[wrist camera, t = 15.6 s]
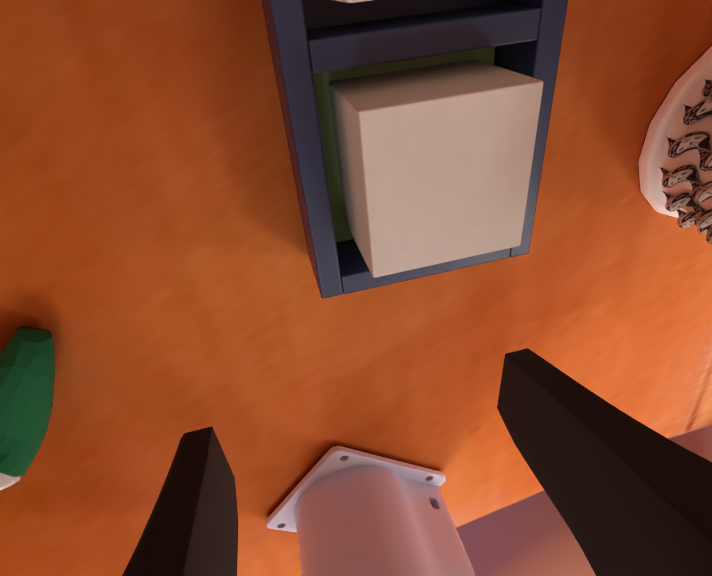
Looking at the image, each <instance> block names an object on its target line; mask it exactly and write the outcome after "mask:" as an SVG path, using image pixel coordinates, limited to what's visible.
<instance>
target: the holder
mask: <svg viewBox="0 0 712 576" xmlns="http://www.w3.org/2000/svg"><path fill="white" fill-rule="evenodd" d="M567 4H568V0H371V1H363V2H355V3H346V2H341V1H335V0H262V6H263V11H264V17H265V22H266V27H267V33H268V38H269V44H270V49H271V54H272V60H273V65H274V71H275V76H276V81H277V87H278V92H279V98H280V103H281V108H282V114H283V119H284V124H285V130H286V135H287V141H288V146H289V151H290V157H291V162H292V168H293V173H294V178H295V184H296V189H297V195H298V200H299V205H300V211H301V216H302V222H303V227H304V232H305V238H306V243H307V249H308V254H309V258H310V261H311V265H312V268H313V271H314V274H315V278H316V281H317V284H318V288H319V291H320V294H321V297H322V298H328V297H332V296H337V295H341V294H343V293H344V294H347V293H352V292H356V291H361V290H365V289H370V288H374V287H379V286H383V285H388V284H392V283H397V282H401V281H406V280H410V279H415V278H419V277H424V276H428V275H433V274H437V273H442V272H446V271H451V270H455V269H460V268H464V267H469V266H473V265H478V264H482V263H487V262H491V261H496V260H500V259H505V258H509V257H514V256H518V255H523V254H527V253H529V248H530V241H531V235H532V228H533V222H534V216H535V209H536V203H537V196H538V190H539V184H540V177H541V171H542V164H543V158H544V152H545V145H546V139H547V132H548V126H549V120H550V113H551V107H552V100H553V94H554V88H555V81H556V75H557V68H558V62H559V56H560V49H561V43H562V36H563V30H564V24H565V17H566V11H567ZM472 59H476V60H479V61H482V62H485V63H488V64H491V65H495V66H498V67H501V68H504V69H507V70H510V71H514V72H517V73H520V74H523V75H526V76H529V77H533V78H536V79H539V80H542V81H543V90H542V97H541V104H540V111H539V118H538V125H537V132H536V139H535V146H534V153H533V160H532V167H531V174H530V181H529V189H528V196H527V203H526V210H525V217H524V224H523V231H522V238H521V245H520V246H517V247H512V248H508V249H503V250H498V251H494V252H489V253H485V254H480V255H476V256H471V257H466V258H462V259H457V260H453V261H448V262H444V263H439V264H435V265H430V266H425V267H421V268H416V269H412V270H407V271H403V272H398V273H393V274H389V275H384V276H380V277H375V278H374V277H373V276H372V274H371V272H370V270H369V268H368V266H367V264H366V262H365V260H364V258H363V256H362V254H361V252H360V250H359V248H358V246H357V244H356V242H355V240H354V238H353V236H352V234H351V232H350V230H349V228H348V226H347V224H346V222H345V214H344V206H343V198H342V189H341V181H340V173H339V165H338V157H337V149H336V140H335V132H334V124H333V116H332V108H331V99H330V91H329V82H330V81H336V80H342V79H349V78H355V77H362V76H368V75H375V74H381V73H388V72H394V71H401V70H407V69H414V68H420V67H427V66H433V65H440V64H446V63H453V62H459V61H466V60H472Z"/></svg>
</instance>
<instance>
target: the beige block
mask: <svg viewBox="0 0 712 576" xmlns="http://www.w3.org/2000/svg"><path fill="white" fill-rule="evenodd" d="M335 1H341V2H346V3H355V2H363V1H371V0H335Z"/></svg>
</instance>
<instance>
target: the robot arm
mask: <svg viewBox="0 0 712 576" xmlns="http://www.w3.org/2000/svg"><path fill="white" fill-rule="evenodd" d="M497 408H498V410H499V413H500V415H501V417H502V419H503V421H504V423H505V425H506V427H507V429H508V431H509V433H510V435H511V437H512V439H513V441H514V443H515V445H516V447H517V448H518V450H519V451H520V453H521V454H522V456H523V458H524V459H525V461H526V462H527V464H528V465H529V467H530V468H531V470H532V472H533V473H534V475H535V476H536V478H537V479H538V481H539V482H540V484H541V485H542V487H543V488H544V490H545V491H546V493H547V494H548V496H549V498H550V499H551V501H552V502H553V504H554V505H555V507H556V508H557V510H558V511H559V513H560V514H561V516H562V517H563V519H564V520H565V522H566V524H567V525H568V527H569V528H570V530H571V531H572V533H573V535H574V536H575V538H576V540H577V541H578V543H579V545H580V546H581V548H582V550H583V552H584V554H585V556H586V557H587V559H588V561H589V563H590V565H591V567H592V569H593V571H594V572H595V574H596V576H712V462H710V461H708V460H706V459H704V458H703V457H700V456H698V455H697V454H695V453H693V452H691V451H689V450H687V449H685V448H683V447H682V446H680V445H678V444H676V443H674V442H673V441H671V440H669V439H667V438H665V437H664V436H662V435H660V434H659V433H657V432H655V431H654V430H652V429H650V428H648V427H647V426H645V425H643V424H642V423H640V422H638V421H637V420H635V419H633V418H632V417H630V416H628V415H627V414H625V413H624V412H622V411H620V410H619V409H617V408H616V407H614V406H613V405H611V404H609V403H608V402H606V401H605V400H603V399H602V398H600V397H599V396H597V395H596V394H594V393H593V392H591V391H590V390H588V389H587V388H585V387H584V386H582V385H581V384H579V383H578V382H576V381H575V380H573V379H572V378H570V377H569V376H567V375H566V374H564V373H563V372H562V371H560V370H559V369H557V368H556V367H554V366H553V365H551V364H550V363H549V362H547V361H546V360H544V359H543V358H541V357H540V356H538V355H537V354H535V353H534V352H532V351H531V350H529V349H528V348H527V349H523V350H519V351H515V352H511V353H507V354H505V359H504V366H503V372H502V379H501V386H500V393H499V399H498V406H497ZM445 481H446V477H445V474H444V473H443V472H440V471H436V470H432V469H428V468H424V467H421V466H417V465H413V464H409V463H405V462H401V461H397V460H393V459H389V458H385V457H381V456H377V455H373V454H369V453H366V452H362V451H358V450H354V449H350V448H346V447H342V446H334V447H332V448H331V449H329V451H328V452H327V453H326V454H325V455H324V456H323V457H322V458H321V459H320V460H319V462H318V463H317V464H316V465H315V466H314V467H313V468H312V469H311V470H310V472H309V473H308V474H307V475H306V476H305V477H304V478H303V479H302V480H301V482H300V483H299V484H298V485H297V486H296V487H295V488H294V489H293V490H292V492H291V493H290V494H289V495H288V496H287V497H286V498H285V499H284V500H283V501H282V503H281V504H280V505H279V506H278V507H277V508H276V509H275V510H274V511H273V513H272V514H271V515H270V516H269V517H268V518H267V520H266V525H267V527H268V528H270V529H276V530H284V531H292V532H297V538H298V546H299V554H300V562H301V569H302V576H475V573H474V570H473V568H472V565H471V563H470V561H469V559H468V556H467V554H466V551H465V549H464V546H463V544H462V542H461V539H460V537H459V535H458V532H457V530H456V527H455V525H454V523H453V520H452V518H451V516H450V513H449V511H448V508H447V506H446V504H445V501H444V499H443V497H442V494H441V492H440V489H439V487H440V486H441V485H442V484H443V483H444V482H445ZM237 552H238V513H237V500H236V488H235V477H234V475H233V473H232V471H231V468H230V466H229V464H228V461H227V459H226V457H225V455H224V452H223V450H222V448H221V446H220V443H219V441H218V439H217V436H216V434H215V432H214V430H213V427H208V428H204V429H200V430H196V431H192V432H188V433H185V434H184V435H183V436H182V437H181V440H180V443H179V445H178V448H177V451H176V454H175V456H174V459H173V462H172V465H171V467H170V470H169V472H168V475H167V477H166V480H165V482H164V485H163V487H162V490H161V492H160V495H159V497H158V500H157V502H156V504H155V506H154V509H153V511H152V513H151V516H150V518H149V520H148V522H147V525H146V527H145V529H144V532H143V534H142V536H141V538H140V540H139V543H138V545H137V547H136V549H135V551H134V553H133V555H132V557H131V559H130V561H129V563H128V565H127V567H126V569H125V571H124V573H123V575H122V576H237Z"/></svg>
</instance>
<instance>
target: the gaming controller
mask: <svg viewBox="0 0 712 576" xmlns="http://www.w3.org/2000/svg"><path fill="white" fill-rule="evenodd" d="M54 378H55V357H54V342H53V338H52V335H51V332H50V331H48V330H44V329H32V328H19V329H18V330H17V332H16V333H15V334H14V335H13V337H12V338H11V339H10V340H9V342H8V343H7V344H6V345H5V346H4V348H3V349H2V351H1V353H0V490H2V489H4V488H7V487H9V486H11V485H13V484H14V483H16V482H18V481H19V480H20V477H21V476H23V475H24V474H25V473H26V472H27V470H28V468H29V467H30V465H31V463H32V461H33V460H34V458H35V456H36V454H37V452H38V450H39V448H40V446H41V443H42V441H43V438H44V436H45V434H46V431H47V427H48V423H49V419H50V414H51V410H52V406H53V393H54Z"/></svg>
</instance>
